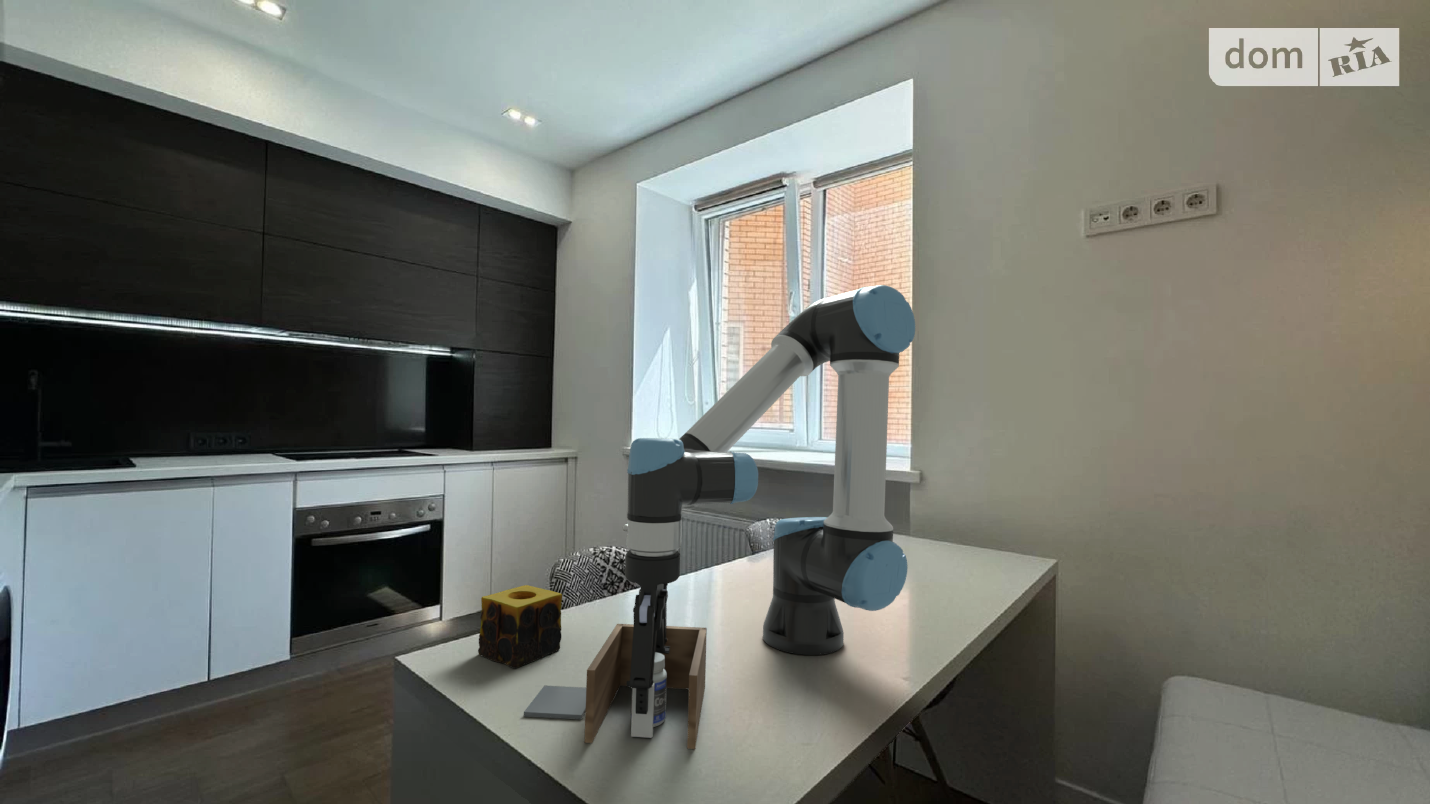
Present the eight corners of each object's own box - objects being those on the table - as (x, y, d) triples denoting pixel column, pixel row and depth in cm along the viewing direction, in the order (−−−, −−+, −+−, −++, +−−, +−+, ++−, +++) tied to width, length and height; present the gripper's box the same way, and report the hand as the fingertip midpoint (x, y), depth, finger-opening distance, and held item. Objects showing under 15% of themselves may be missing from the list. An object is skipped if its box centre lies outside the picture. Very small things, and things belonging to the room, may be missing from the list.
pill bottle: (659, 730, 76) (661, 665, 76) (625, 726, 76) (627, 662, 77) (669, 713, 80) (671, 652, 80) (637, 709, 81) (639, 648, 81)
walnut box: (705, 687, 88) (706, 627, 89) (695, 749, 71) (697, 675, 72) (615, 682, 89) (617, 623, 90) (584, 742, 72) (586, 669, 73)
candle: (514, 670, 93) (517, 608, 93) (475, 655, 98) (478, 596, 98) (562, 650, 101) (564, 593, 102) (524, 637, 107) (526, 583, 107)
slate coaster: (596, 692, 86) (596, 688, 86) (581, 719, 78) (581, 714, 78) (544, 689, 86) (544, 685, 86) (523, 716, 78) (523, 711, 78)
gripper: (640, 534, 90) (635, 681, 89) (607, 567, 69) (601, 761, 68) (688, 536, 90) (683, 684, 89) (670, 570, 68) (664, 765, 68)
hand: (648, 717), depth 78 cm, fingers open, 8 cm apart
